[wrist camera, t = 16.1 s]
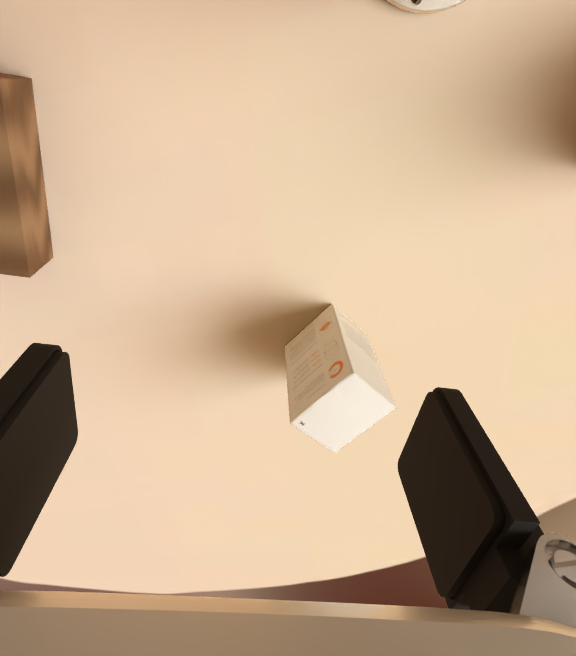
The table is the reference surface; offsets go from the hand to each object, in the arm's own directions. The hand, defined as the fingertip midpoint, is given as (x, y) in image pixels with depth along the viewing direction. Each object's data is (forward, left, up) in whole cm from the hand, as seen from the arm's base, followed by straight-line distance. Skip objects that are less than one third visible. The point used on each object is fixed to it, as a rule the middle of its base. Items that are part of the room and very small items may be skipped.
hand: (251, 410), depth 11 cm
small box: (+18, +10, -34) cm, 39 cm away
